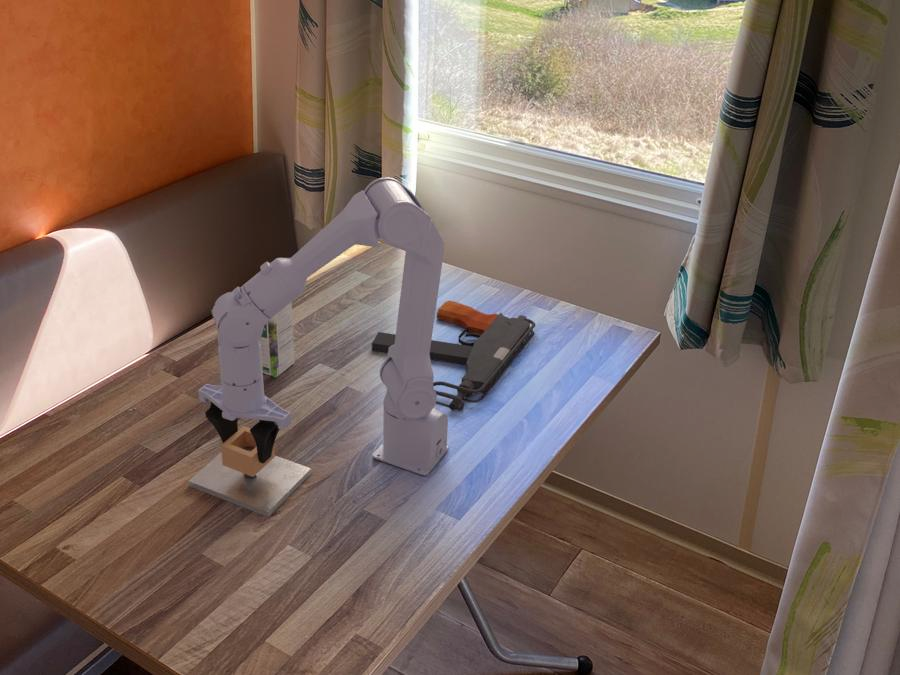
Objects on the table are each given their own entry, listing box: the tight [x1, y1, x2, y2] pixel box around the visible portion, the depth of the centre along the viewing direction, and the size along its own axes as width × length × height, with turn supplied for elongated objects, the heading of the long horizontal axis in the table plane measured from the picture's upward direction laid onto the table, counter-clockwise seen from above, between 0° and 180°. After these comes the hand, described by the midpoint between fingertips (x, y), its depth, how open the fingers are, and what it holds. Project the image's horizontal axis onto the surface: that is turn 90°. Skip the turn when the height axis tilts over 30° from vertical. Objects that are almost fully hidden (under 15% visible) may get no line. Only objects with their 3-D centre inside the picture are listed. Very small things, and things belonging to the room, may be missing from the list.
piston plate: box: [188, 446, 312, 518], centre depth 143 cm, size 14×11×6 cm
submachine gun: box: [371, 299, 536, 411], centre depth 177 cm, size 32×3×25 cm
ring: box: [220, 425, 276, 477], centre depth 142 cm, size 5×5×4 cm
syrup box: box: [259, 301, 295, 378], centre depth 167 cm, size 6×6×14 cm
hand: (248, 452), depth 142 cm, fingers closed on ring, 5 cm apart
